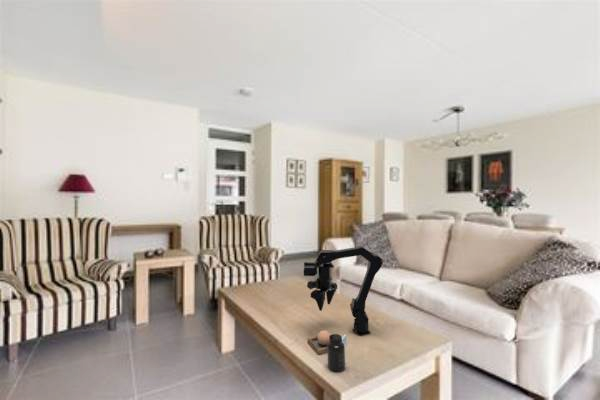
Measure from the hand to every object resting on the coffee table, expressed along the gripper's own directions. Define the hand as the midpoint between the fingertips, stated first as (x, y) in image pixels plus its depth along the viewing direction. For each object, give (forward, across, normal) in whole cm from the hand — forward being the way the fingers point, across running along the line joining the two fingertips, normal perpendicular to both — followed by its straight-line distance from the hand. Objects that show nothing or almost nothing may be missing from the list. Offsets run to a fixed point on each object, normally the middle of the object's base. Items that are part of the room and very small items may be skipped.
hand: (324, 307), depth 139 cm
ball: (+11, +13, +6) cm, 18 cm away
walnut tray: (+12, +13, +6) cm, 18 cm away
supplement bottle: (+12, +24, +17) cm, 32 cm away
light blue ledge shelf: (+12, +13, +13) cm, 22 cm away
